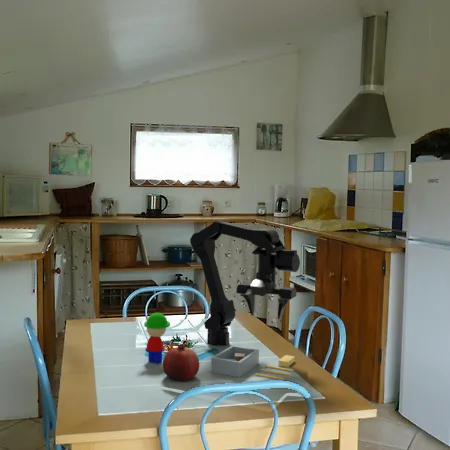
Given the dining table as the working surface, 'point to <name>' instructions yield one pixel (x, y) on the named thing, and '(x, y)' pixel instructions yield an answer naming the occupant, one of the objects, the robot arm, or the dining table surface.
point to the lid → (284, 361)
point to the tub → (234, 367)
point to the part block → (239, 356)
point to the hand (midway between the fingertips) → (265, 316)
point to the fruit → (181, 363)
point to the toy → (155, 336)
